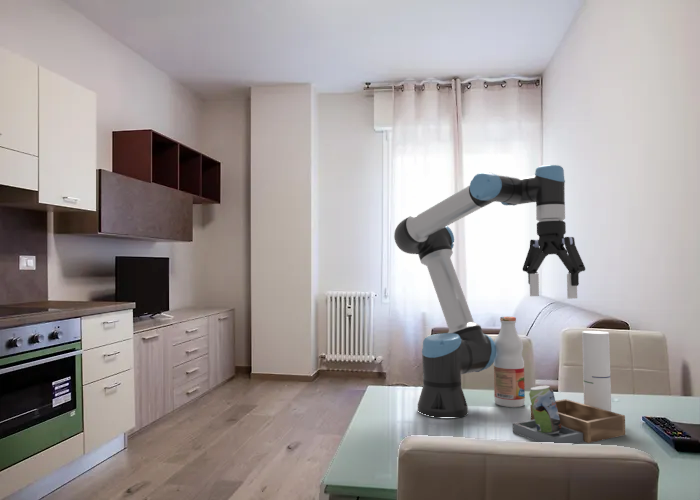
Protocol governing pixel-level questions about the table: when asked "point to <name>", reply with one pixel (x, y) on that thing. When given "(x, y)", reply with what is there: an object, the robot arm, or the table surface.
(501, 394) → the fruit juice
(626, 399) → the table surface
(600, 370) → the cylindrical container
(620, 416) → the crate
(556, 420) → the beverage can
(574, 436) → the tray
